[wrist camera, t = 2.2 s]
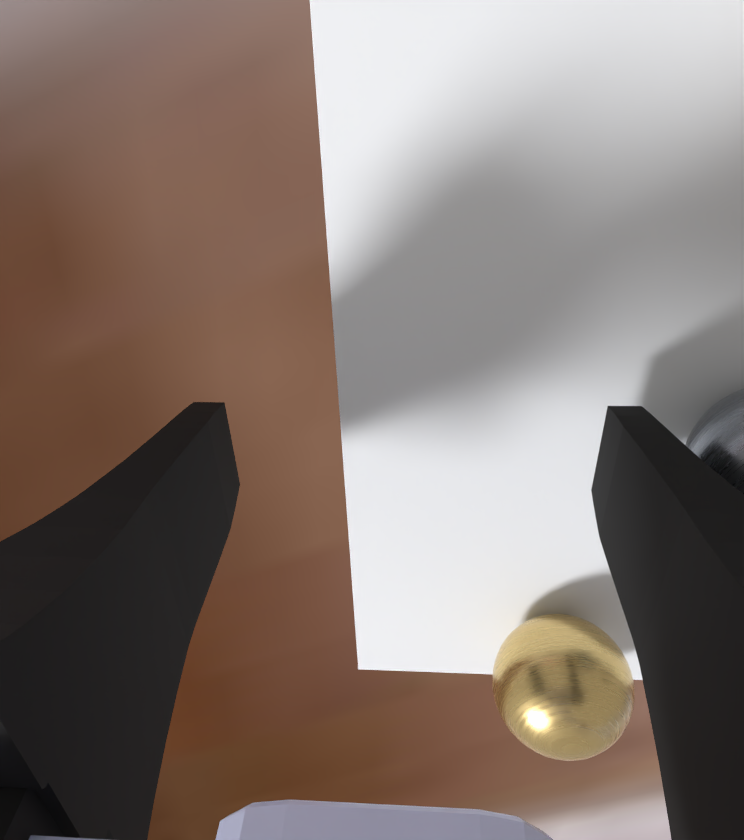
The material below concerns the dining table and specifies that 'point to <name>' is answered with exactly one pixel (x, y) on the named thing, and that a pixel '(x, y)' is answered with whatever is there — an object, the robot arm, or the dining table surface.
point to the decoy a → (563, 687)
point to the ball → (722, 438)
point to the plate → (517, 290)
